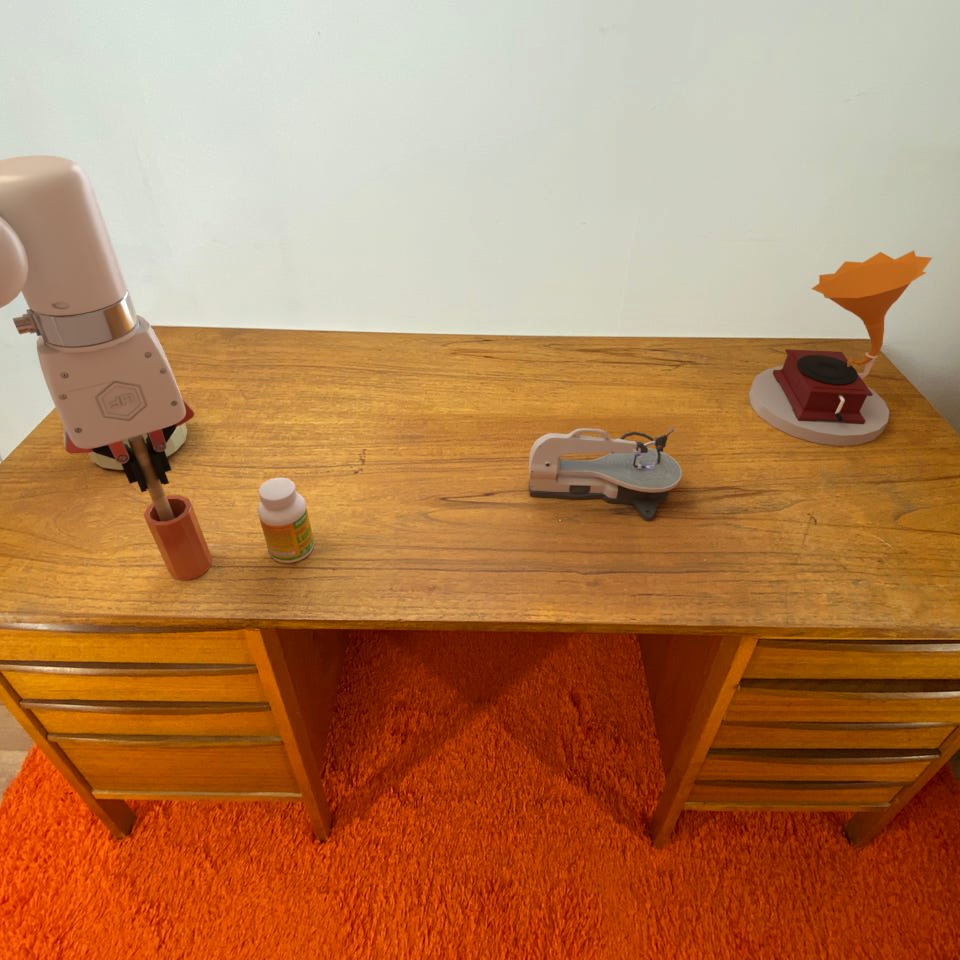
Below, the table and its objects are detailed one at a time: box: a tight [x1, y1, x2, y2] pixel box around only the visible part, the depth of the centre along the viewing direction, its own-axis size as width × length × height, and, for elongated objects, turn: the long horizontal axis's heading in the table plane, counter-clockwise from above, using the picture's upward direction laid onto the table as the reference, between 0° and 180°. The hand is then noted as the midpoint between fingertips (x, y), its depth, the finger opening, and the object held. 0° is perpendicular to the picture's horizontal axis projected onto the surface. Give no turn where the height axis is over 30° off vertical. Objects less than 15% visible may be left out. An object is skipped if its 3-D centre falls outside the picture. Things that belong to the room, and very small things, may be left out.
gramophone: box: [748, 250, 933, 447], centre depth 95 cm, size 20×20×25 cm
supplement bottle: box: [257, 477, 315, 564], centre depth 75 cm, size 5×5×10 cm
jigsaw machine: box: [528, 427, 683, 522], centre depth 84 cm, size 20×11×12 cm
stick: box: [128, 435, 175, 521], centre depth 68 cm, size 1×1×15 cm
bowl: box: [87, 422, 189, 471], centre depth 91 cm, size 13×13×6 cm
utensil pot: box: [143, 494, 213, 581], centre depth 73 cm, size 5×5×9 cm
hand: (152, 479), depth 67 cm, fingers closed on stick, 1 cm apart
